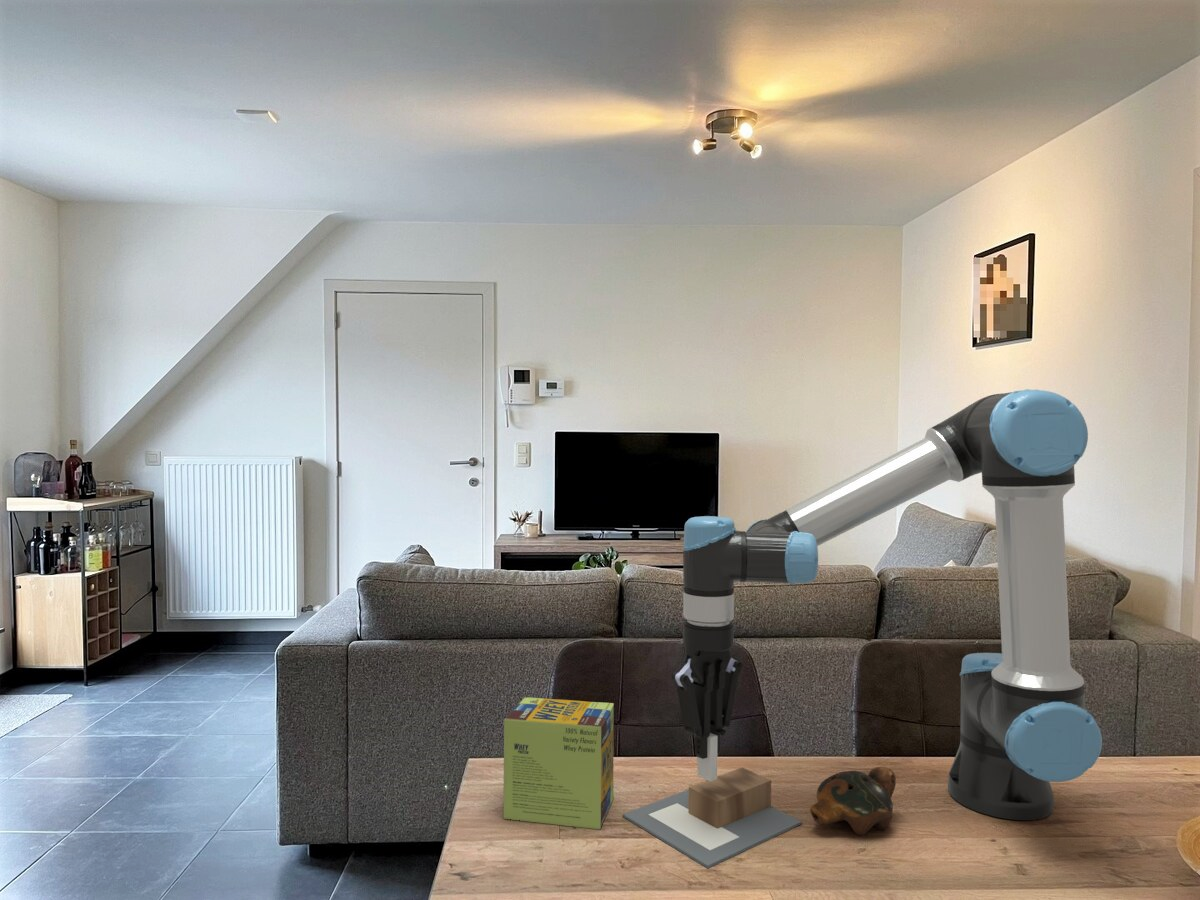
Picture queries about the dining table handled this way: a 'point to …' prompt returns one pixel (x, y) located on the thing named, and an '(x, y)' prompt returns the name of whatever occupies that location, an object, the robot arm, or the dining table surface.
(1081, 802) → the dining table surface
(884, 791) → the decorative turtle
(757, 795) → the walnut block
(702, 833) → the mat
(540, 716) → the protein box
